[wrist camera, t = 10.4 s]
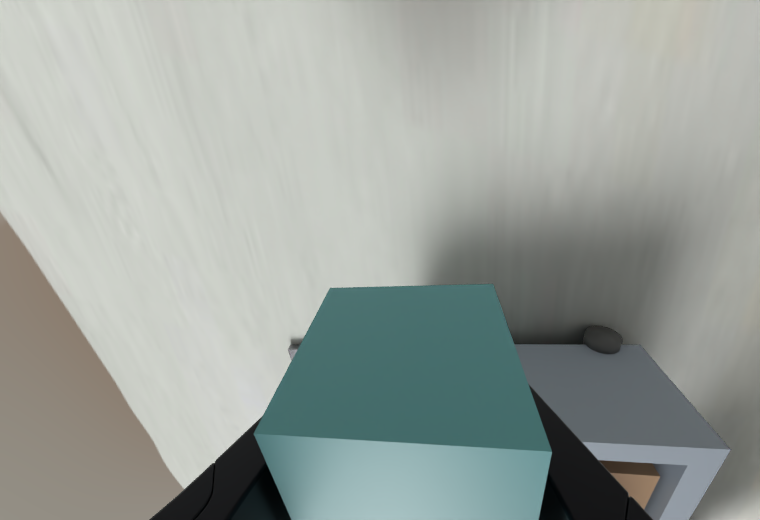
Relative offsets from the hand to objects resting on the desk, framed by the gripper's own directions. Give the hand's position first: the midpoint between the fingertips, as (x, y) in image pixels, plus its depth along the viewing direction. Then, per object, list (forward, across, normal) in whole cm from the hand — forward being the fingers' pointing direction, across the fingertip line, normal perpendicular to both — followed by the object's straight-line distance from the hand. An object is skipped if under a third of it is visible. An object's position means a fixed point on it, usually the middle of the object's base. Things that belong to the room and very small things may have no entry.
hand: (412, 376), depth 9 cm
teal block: (+1, 0, 0) cm, 1 cm away
